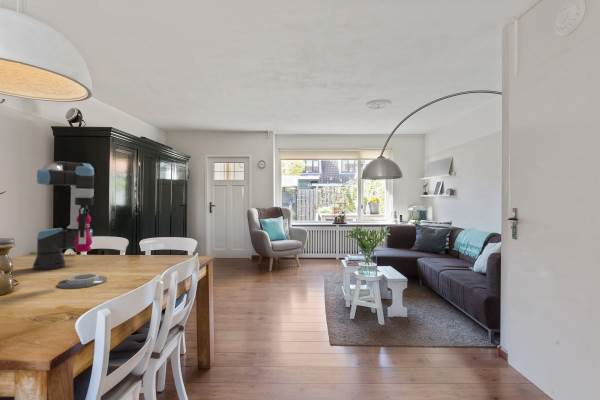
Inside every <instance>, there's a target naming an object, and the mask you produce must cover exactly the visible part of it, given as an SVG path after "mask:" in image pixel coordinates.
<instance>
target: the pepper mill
mask: <svg viewBox="0 0 600 400" xmlns="http://www.w3.org/2000/svg"><path fill="white" fill-rule="evenodd" d="M76 221H77V222H78V224H79V216H78V217H77V219H76ZM91 221H92V217H91V216H90V214H89V215H88V217H86V228H85V229H86V230H85V231H86V244H79V231H78V235H77V237H76V239H75V242H74V244H75V245H76V246H77V247H76V248H74V249H75V252H77V253H82V252H83V253H84V252H85V253H87V252H90V251H92V247H91V245H92V244H93V239H92V238H93V237H92V238H91V236H90V234H89V227H90V228H91V226H90V225H91V224H90V222H91ZM77 227H78V226H77Z"/></svg>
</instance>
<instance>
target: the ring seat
mask: <svg viewBox="0 0 600 400" xmlns="http://www.w3.org/2000/svg"><path fill="white" fill-rule="evenodd" d="M107 281H108V278H107V276H104V275H100V274H99V273H82V274H76V275H71V276H69V277H67V278H66V279H63V280H61V281H59V282H58V283H57V287H58V288H60V289H64V288H65V289H66V290H69V289H70V290H71V289H72V290H73V289H74V290H75V289H84V288H90V287H96V286H99V285H102V284H105V283H106V282H107Z"/></svg>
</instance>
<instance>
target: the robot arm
mask: <svg viewBox="0 0 600 400" xmlns="http://www.w3.org/2000/svg"><path fill="white" fill-rule="evenodd" d="M36 182H37V184H38V185H44V186H49V185H51V186H69V187H70V215H69V216H70V220H69V222H70V223H69V225H68V226H66V229H64V228H63V227H57V228H49V229H43V230H40V231H38V233H37V237H36V240H37V244H36V249H37V250H36V257H35V259H34V261H33V263H32V270H35V271H44V270H46V271H47V270H54V269H55V270H56V269H60V268H64V267H66V260H65V258H64V255H63V250H65V249H66V250H67V249H69V250H70V249H76V247H77V246H76V245H75V244H74V242H75V239H76V237H77V235H78V231H79V244H86V231H85V230H86V229H85V228H86V217H88V215H89V216H90V208H89V206H93V205H94V198H93V197H94V196H95V195H94V192H95V191H94V190H95V189H94V188H95V187H94V184H95V183H94V182H95V169H94V167H93V166H92V164H90V163H85V162H74V161H73V162H72V161H53V162H48V163H47V164H45V165H44V166H43V167H42V168H41V169H37V172H36ZM78 216H79V224H78V222H77V221H76V219H77V217H78ZM77 226H78V227H77ZM89 234H90V236H91V238H93V229H92V228H91V226H90V227H89Z"/></svg>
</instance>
